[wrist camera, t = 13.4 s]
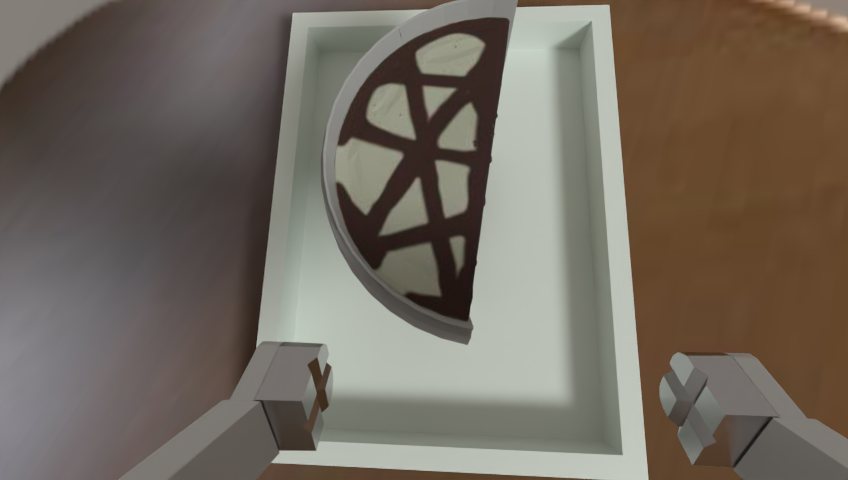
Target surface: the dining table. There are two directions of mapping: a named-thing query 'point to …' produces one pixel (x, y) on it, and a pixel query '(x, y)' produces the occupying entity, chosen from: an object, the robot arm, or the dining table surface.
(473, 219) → the food container
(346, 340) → the tray
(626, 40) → the dining table surface
